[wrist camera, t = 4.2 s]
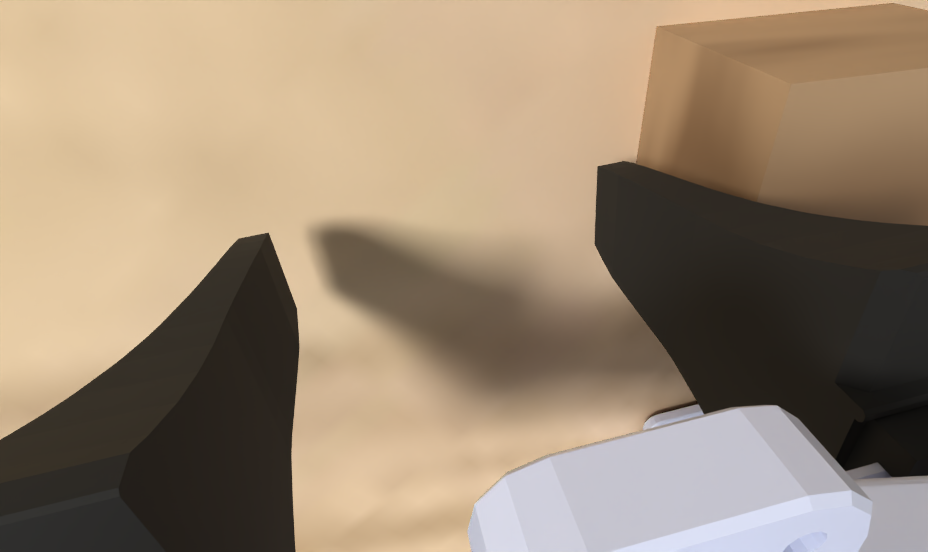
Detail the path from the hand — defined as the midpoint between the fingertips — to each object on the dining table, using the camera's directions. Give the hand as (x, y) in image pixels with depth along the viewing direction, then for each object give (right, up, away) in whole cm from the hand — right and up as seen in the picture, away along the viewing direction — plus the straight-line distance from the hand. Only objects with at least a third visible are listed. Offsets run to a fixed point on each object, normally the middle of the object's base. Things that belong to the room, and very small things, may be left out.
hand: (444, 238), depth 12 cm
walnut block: (+8, +3, +2) cm, 8 cm away
